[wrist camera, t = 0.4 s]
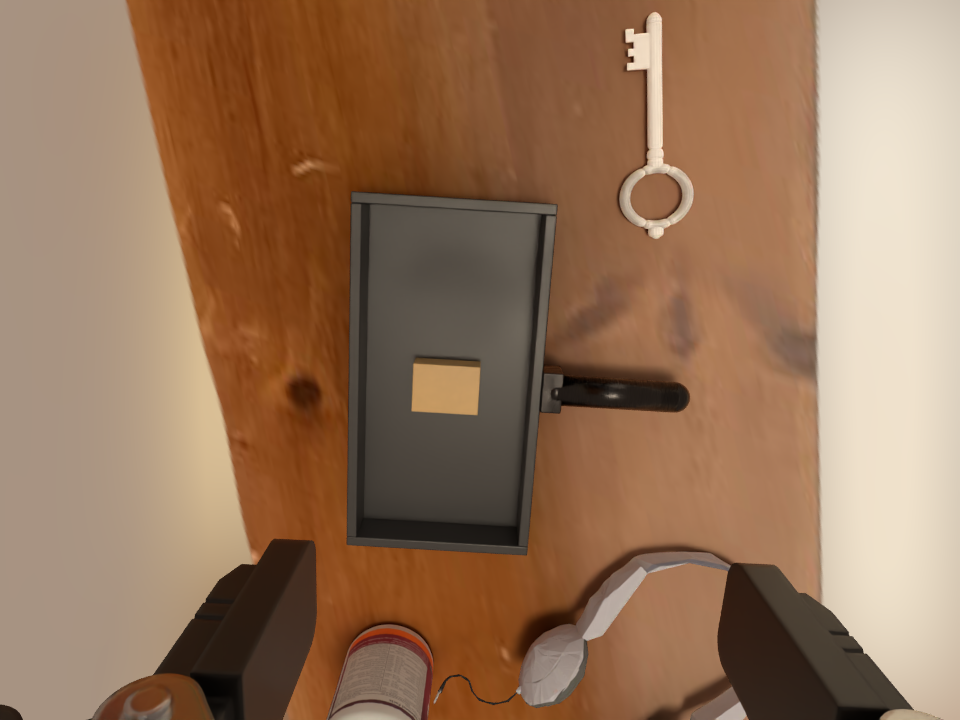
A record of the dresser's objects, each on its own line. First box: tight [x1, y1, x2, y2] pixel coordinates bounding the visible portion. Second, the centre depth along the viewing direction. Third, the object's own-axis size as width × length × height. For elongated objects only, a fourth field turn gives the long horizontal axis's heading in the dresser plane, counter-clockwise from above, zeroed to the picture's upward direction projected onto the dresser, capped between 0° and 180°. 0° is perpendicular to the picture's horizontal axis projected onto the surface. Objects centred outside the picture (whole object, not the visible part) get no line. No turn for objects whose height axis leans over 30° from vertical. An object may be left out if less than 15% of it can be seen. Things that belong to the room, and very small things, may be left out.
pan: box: [347, 191, 558, 555], centre depth 38 cm, size 21×11×3 cm, turn 176°
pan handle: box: [540, 365, 690, 414], centre depth 37 cm, size 2×9×2 cm, turn 87°
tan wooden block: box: [411, 358, 481, 415], centre depth 38 cm, size 3×4×2 cm
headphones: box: [434, 552, 746, 720], centre depth 42 cm, size 17×6×20 cm
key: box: [619, 12, 694, 239], centre depth 35 cm, size 12×1×4 cm
